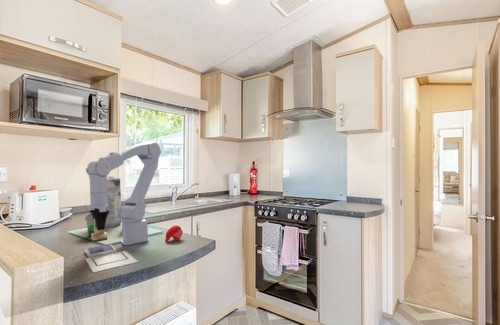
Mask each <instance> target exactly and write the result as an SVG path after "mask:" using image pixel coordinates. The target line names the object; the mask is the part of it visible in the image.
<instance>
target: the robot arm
mask: <svg viewBox="0 0 500 325" xmlns="http://www.w3.org/2000/svg"><path fill="white" fill-rule="evenodd" d="M161 154H162V149H161V147H160V145H159V144H158V143H157V142H155V141H152V142H145V143H137V144H134V145H133V146H131V147H129V148H127V149H125V150H123V151H122V152H120V153H119V152H116V151H115V152H114V151H113V152H109V153H108V155H106V156H104V157H99V158H98V160H92V161H91V162H89V163H88V164H87V167H86V168H85V172H86V174H87V175H88V178H89V193H90V194H89V197H90V199H89V201H90V204H89V205H88V204H87V205H86V208H92V209H91V210H90V209H89V214H92V216H93V219H95V221H96V226H97V230H103V229H104V230H105V228H106V227H105V223H106V218H107V216H108V214H109V210H107V208H106V207H107V206H108V191H107V179H108V176H109V174H110V173H111V171H113V170H115V169H117V168H119V167H122V166H123V164H124V162H125V161H126V160H129V159H131V158H133V157H135V156H137V157H138V158H139V160H140V161H141V163H142V164H143V168H142V170H141V172H140V175H139V177H138V179H137V181H136V184H135V185H134V188H133V191H132V193H131V195H130V196H129V198H127V199H125V200H124V202H123V204H121V207H120V208H119V211H118V215H119V217H120V218H121V222H122V221H123V232H122V240H121V239H120V243H121V244H122V245H124V246H130V245H134V244H140V243H145V242H148V241H149V232H148V229H149V228H148V222H147V219H145V218H144V217H145V214H146V208H147V204H146V203H145V201H144V200H145V198H146V195H147V193H148V191H149V188H150V186H151V183H152V182H153V179H154V176H155V173H156V170H157V169H158V165H159V159H160V156H161ZM106 210H107V211H106Z"/></svg>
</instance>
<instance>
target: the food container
mask: <svg viewBox="0 0 500 325" xmlns="http://www.w3.org/2000/svg"><path fill="white" fill-rule="evenodd" d="M84 219H85V220H84V221H86V228H87V234H88V235H87V236H89V237H88V238H90V237H91V234H92V233H94V219H93V216H92V214H91V213H88V214H86V215H85V218H84Z"/></svg>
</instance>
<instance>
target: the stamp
mask: <svg viewBox="0 0 500 325" xmlns="http://www.w3.org/2000/svg"><path fill="white" fill-rule="evenodd" d="M90 239H91V241H92V243H97V242H103V241H108V233H107V231H105V228H104V229H103V230H97V226H96V221H95V219H94V233H92V234H91V238H90Z"/></svg>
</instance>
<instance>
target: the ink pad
mask: <svg viewBox="0 0 500 325" xmlns="http://www.w3.org/2000/svg"><path fill="white" fill-rule="evenodd" d="M116 252H117V248H115V246H114V245H113V244H112V243H111V244H110V243H109V244H105V245H99V246H94V247H87V248H85V249H84V253H85V255H86V256H87V258H91V257H96V256H101V255H106V254H111V253H116Z"/></svg>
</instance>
